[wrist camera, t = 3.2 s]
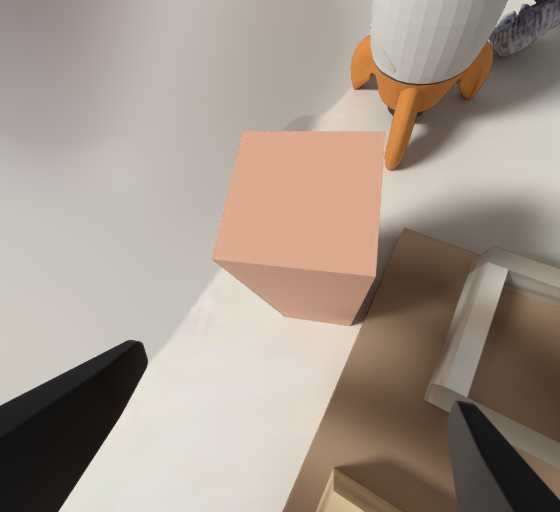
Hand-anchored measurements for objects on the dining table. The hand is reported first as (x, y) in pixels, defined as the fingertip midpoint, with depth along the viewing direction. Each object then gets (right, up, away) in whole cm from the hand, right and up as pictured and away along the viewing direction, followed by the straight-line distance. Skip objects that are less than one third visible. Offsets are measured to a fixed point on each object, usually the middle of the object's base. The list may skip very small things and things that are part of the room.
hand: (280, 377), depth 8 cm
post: (+3, +1, +12) cm, 13 cm away
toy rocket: (+10, +14, +16) cm, 23 cm away
